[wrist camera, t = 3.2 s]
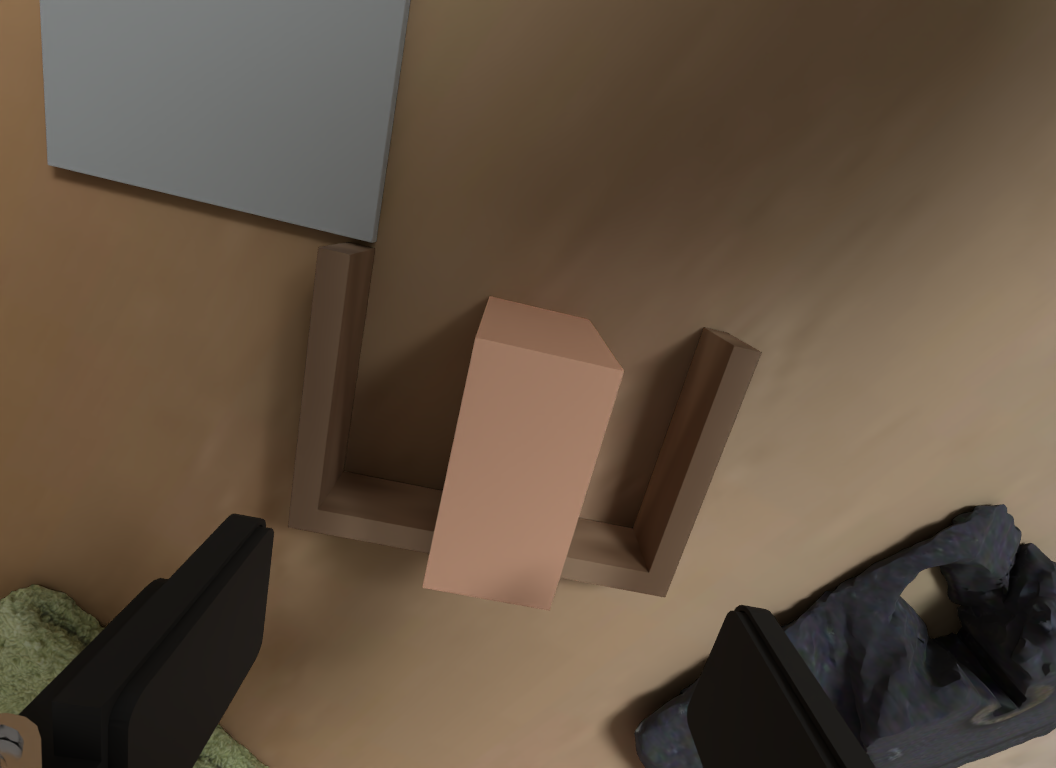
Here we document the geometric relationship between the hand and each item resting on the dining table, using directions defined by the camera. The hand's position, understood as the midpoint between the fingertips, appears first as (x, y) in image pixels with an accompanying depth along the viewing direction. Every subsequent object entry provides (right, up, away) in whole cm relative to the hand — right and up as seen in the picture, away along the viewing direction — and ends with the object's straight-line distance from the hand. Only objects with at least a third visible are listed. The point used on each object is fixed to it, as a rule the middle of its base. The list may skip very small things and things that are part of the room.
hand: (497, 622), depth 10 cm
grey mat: (-9, +16, +6) cm, 20 cm away
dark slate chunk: (+17, -11, +17) cm, 26 cm away
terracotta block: (0, +4, +11) cm, 12 cm away
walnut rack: (0, +4, +11) cm, 12 cm away
